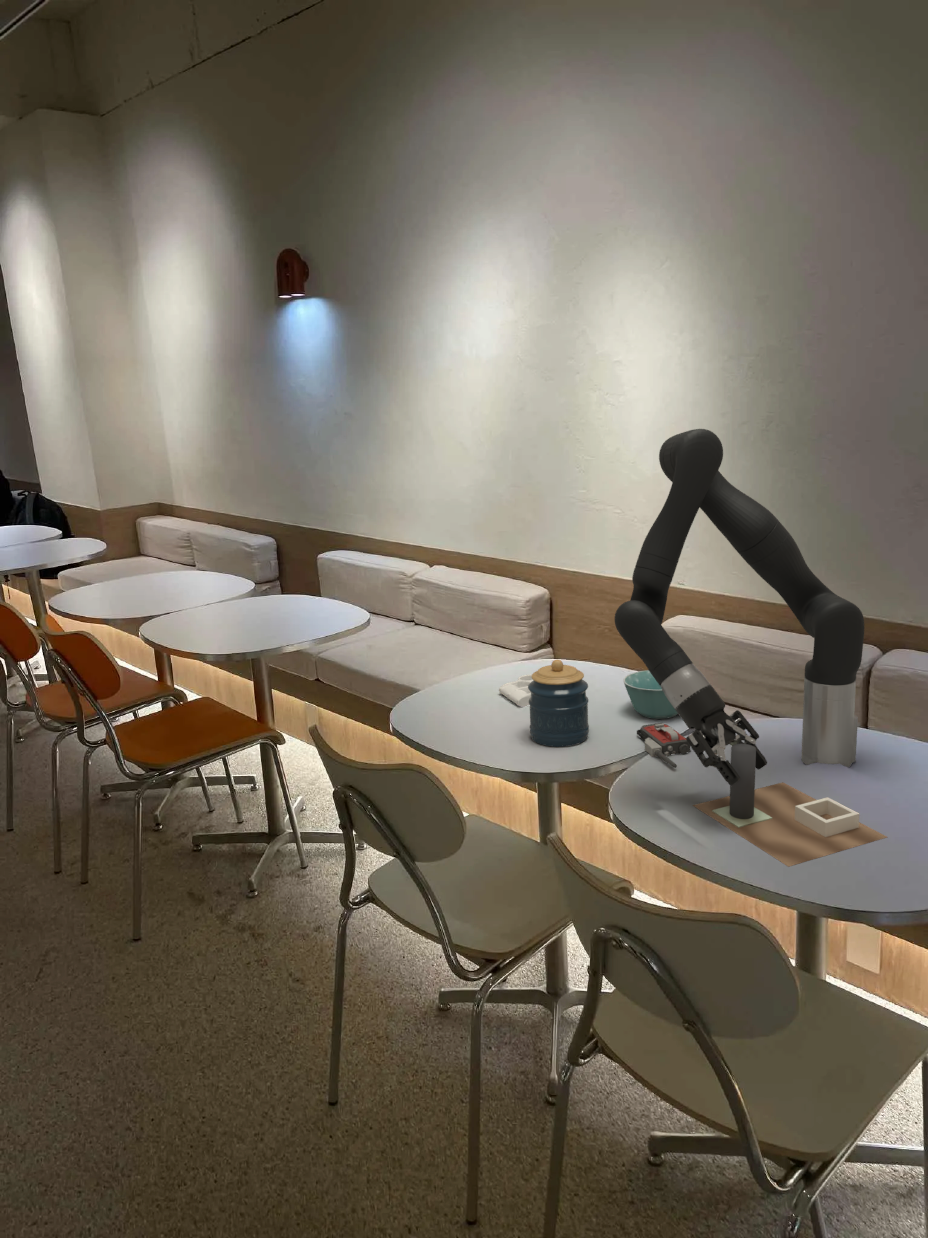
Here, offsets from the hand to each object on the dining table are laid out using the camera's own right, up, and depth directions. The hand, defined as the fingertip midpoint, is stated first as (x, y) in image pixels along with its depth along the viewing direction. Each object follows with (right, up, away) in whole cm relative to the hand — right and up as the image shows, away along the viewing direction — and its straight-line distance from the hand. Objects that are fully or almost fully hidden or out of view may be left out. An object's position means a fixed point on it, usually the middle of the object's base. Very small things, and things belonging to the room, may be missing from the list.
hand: (749, 774), depth 151 cm
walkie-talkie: (-6, -2, +36) cm, 36 cm away
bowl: (-3, +4, +58) cm, 58 cm away
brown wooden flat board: (+6, -9, 0) cm, 11 cm away
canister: (-27, 0, +46) cm, 54 cm away
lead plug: (0, -7, +3) cm, 8 cm away
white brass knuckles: (-30, +6, +74) cm, 80 cm away
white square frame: (+12, -8, -2) cm, 15 cm away
